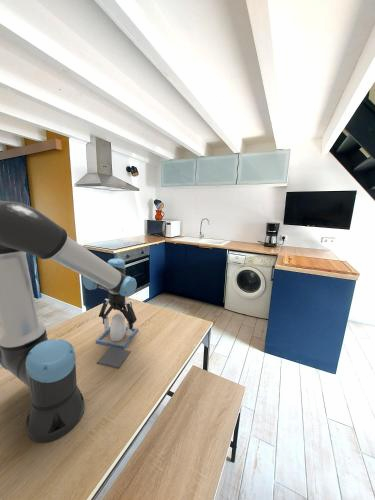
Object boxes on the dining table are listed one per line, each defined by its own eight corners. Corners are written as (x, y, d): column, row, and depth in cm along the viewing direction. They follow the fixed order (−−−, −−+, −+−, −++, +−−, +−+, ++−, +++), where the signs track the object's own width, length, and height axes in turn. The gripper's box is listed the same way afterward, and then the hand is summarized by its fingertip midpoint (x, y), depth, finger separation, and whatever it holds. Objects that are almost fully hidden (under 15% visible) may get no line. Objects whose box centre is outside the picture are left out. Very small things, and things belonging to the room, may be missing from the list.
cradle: (123, 349, 95) (123, 346, 95) (95, 343, 98) (95, 340, 98) (137, 331, 109) (137, 328, 109) (113, 326, 112) (113, 323, 112)
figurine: (127, 333, 107) (127, 312, 104) (121, 342, 99) (121, 320, 97) (114, 331, 107) (114, 310, 105) (107, 341, 100) (106, 318, 97)
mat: (118, 368, 84) (118, 367, 84) (96, 363, 86) (96, 362, 86) (130, 352, 94) (130, 350, 93) (110, 347, 96) (110, 346, 95)
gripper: (144, 291, 99) (143, 332, 104) (99, 285, 104) (101, 323, 109) (136, 298, 92) (136, 341, 97) (89, 290, 97) (91, 332, 102)
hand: (117, 332), depth 103 cm, fingers open, 12 cm apart
